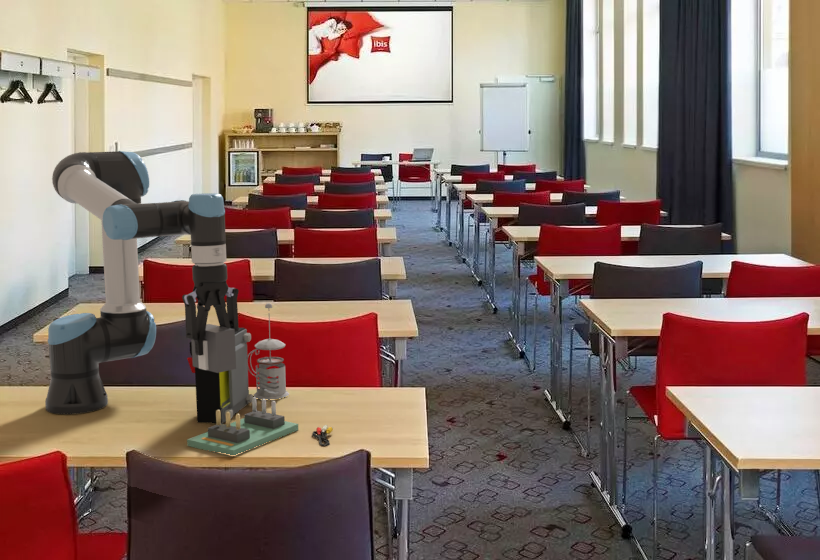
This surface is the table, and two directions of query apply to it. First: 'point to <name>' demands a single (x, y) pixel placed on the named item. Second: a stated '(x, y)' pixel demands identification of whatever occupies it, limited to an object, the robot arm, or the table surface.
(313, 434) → the composite cable
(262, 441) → the header board
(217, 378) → the electrical component
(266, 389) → the french press
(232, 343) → the block
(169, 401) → the table surface
